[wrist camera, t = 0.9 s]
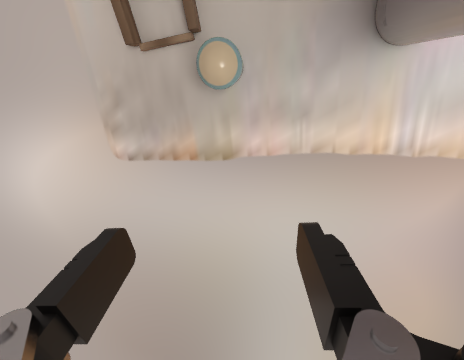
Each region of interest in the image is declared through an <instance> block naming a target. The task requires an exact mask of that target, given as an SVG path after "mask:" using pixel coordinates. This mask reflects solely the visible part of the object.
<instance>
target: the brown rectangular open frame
mask: <svg viewBox="0 0 464 360" xmlns="http://www.w3.org/2000/svg"><path fill="white" fill-rule="evenodd" d="M182 1H183V6H184V10H185V15H186V20H187V24H188V29H189V30H190V31H191V32H189V33H185V34H180V35H176V36H172V37H167V38H163V39H159V40H154V41H150V42H146V43H141V40H140V37H139V34H138V30H137V27H136V24H135V21H134V18H133V14H132V11H131V8H130V5H129V2H128V0H111V3H112V6H113V9H114V12H115V15H116V18H117V21H118V23H119V26H120V29H121V32H122V35H123V38H124V41H125V44H126V45H130V46H134V47H135V46H140V49H141V51H147V50H151V49H156V48H160V47H165V46H169V45H174V44H178V43H183V42H187V41H192V40H195V39H194V34H193V33H196V32H201V27H200V22H199V17H198V12H197V7H196V2H195V0H182Z"/></svg>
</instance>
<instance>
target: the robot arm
mask: <svg viewBox="0 0 464 360" xmlns="http://www.w3.org/2000/svg"><path fill="white" fill-rule="evenodd" d="M375 20H376V26H377V29H378V32H379V34H380V35H381V37H382V38H383V39H384V40H385V41H387V42H388V43H390V44H394V45H408V44H414V43H420V42H425V41H432V40H437V39H443V38H448V37H454V36H459V35H464V0H378V2H377V7H376V16H375ZM296 253H297V260H298V264H299V267H300V271H301V274H302V278H303V281H304V285H305V288H306V291H307V295H308V298H309V302H310V305H311V308H312V312H313V315H314V318H315V322H316V325H317V328H318V332H319V335H320V339H321V342H322V346H323V349H324V350H334V352H335V354H336V357H337V360H464V345H463V347H462V348H461V349H460V350H459V349H456V348H452V347H449V346H446V345H443V344H440V343H437V342H434V341H431V340H427V339H424V338H422V337H419V336H416V335H414V334H412V333H410V332H409V331H408V330H407V329H406V328H405V327H404V326H403V325H402V324H401V323H400V322H398V321H397V320H396V319H394V318H393V317H391V316H389V315H388V314H386V313H385V312H384V311H383V309H382V308H381V306H380V305H379V303H378V301H377V300H376V298H375V296H374V295H373V293H372V291H371V290H370V288H369V286H368V285H367V283H366V281H365V280H364V278H363V276H362V275H361V273H360V271H359V270H358V268H357V267H356V266H355V263H354V261H353V260H352V258H351V257H350V255H349V253H348V251H347V250H346V248H345V246H344V245H343V243H342V242H340V241H339V240H338V239H337V238H336V237H335V236H333V235H332V234H326V235H324V233H323V231H322V229H321V227H320V225H319V224H318V223H317V222H315V223H314V222H313V223H299V225H298V236H297V247H296ZM135 258H136V253H135V250H134V247H133V245H132V243H131V240H130V238H129V235H128V233H127V231H126V229H124V228H109V229H105V230H104V231H103V232H102V233H101V234H100V235H99V236H98V237H97V238H96V239H95V240H94V241H92V242H91V243H90V244H88V245H87V246H85V247H84V248H82V249H81V250H80V251H79V253H77V255H76V256H75V257H74V258H73V259H72V261H70V262H69V263H68V264H67V265H66V266H65V267H64V270H61V271H60V273H59V274H58V275H57V276H56V277H55V278H54V279H53V280H52V281H51V282H50V283H49V284H48V285H47V286H46V287H45V288H44V290H43V291H42V292H41V293H40V294H39V295H38V296H37V297H36V298H35V299H34V300H33V301H32V302H31V303H30V304H29V306H27V307H26V308H24V309H17V310H14V311H11V312H9V313H7V314H5V315H3V316H1V317H0V360H70V354H69V352H68V351H69V350H70V348H71V347H72V345H73V344H88V342H89V340H90V338H91V337H92V335H93V333H94V331H95V330H96V328H97V326H98V325H99V323H100V321H101V319H102V318H103V316H104V314H105V313H106V311H107V309H108V308H109V306H110V304H111V302H112V301H113V299H114V297H115V295H116V294H117V292H118V291H119V289H120V287H121V285H122V284H123V282H124V280H125V278H126V277H127V275H128V273H129V272H130V270H131V268H132V266H133V265H134V262H135Z"/></svg>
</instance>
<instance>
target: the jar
mask: <svg viewBox="0 0 464 360" xmlns="http://www.w3.org/2000/svg"><path fill="white" fill-rule="evenodd" d="M196 63H197V70H198V73H199V76H200V78H201V79H202V81H203V82H204V83H205V84H206V85H208V86H209V87H211V88H214V89H226V88H228V87H230V86H231V85H233V84H234V83H235V82H237V81H238V80H239V78H240V77H241V75H242V72H243V61H242V58H241V56H240V53H239V51H238V49H237V48H236V46H235V45H234V44H233V43H232V42H231V41H229V40H228V39H225V38H222V37H215V38H211V39H209V40H207V41H206V42H205V43H204V44H203V45H202V46H201V48H200V50H199V52H198V55H197V62H196Z"/></svg>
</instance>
